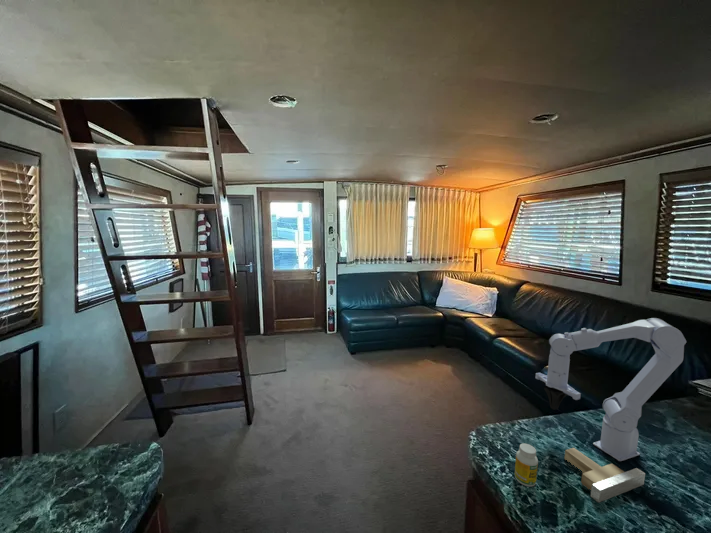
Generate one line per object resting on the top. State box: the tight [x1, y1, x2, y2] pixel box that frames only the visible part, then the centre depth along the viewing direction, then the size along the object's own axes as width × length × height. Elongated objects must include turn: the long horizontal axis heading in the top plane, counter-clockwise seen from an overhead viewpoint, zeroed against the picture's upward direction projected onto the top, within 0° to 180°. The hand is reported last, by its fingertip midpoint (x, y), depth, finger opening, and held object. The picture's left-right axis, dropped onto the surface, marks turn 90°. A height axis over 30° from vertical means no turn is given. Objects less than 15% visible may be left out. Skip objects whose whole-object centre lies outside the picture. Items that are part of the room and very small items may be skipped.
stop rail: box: [590, 467, 646, 503], centre depth 82 cm, size 18×2×4 cm, turn 109°
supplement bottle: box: [514, 442, 539, 488], centre depth 84 cm, size 5×5×10 cm
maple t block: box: [564, 447, 625, 491], centre depth 88 cm, size 12×12×3 cm
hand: (554, 408), depth 103 cm, fingers closed
